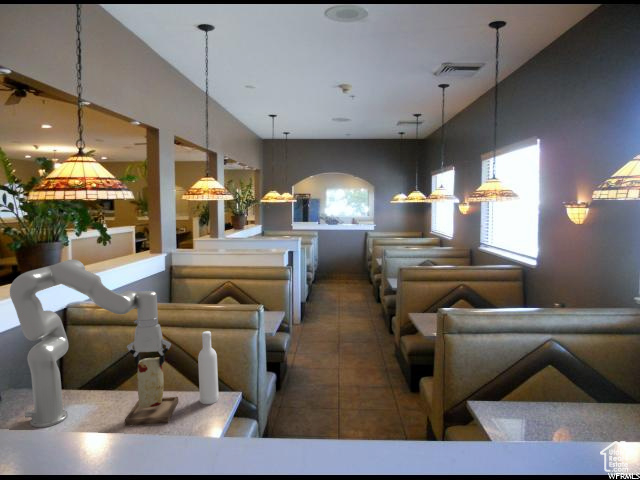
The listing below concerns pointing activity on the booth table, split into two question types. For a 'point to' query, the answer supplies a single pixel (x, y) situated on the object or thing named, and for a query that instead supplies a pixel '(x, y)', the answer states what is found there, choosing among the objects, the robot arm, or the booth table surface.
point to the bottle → (208, 371)
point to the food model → (150, 382)
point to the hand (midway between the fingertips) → (150, 364)
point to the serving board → (152, 413)
